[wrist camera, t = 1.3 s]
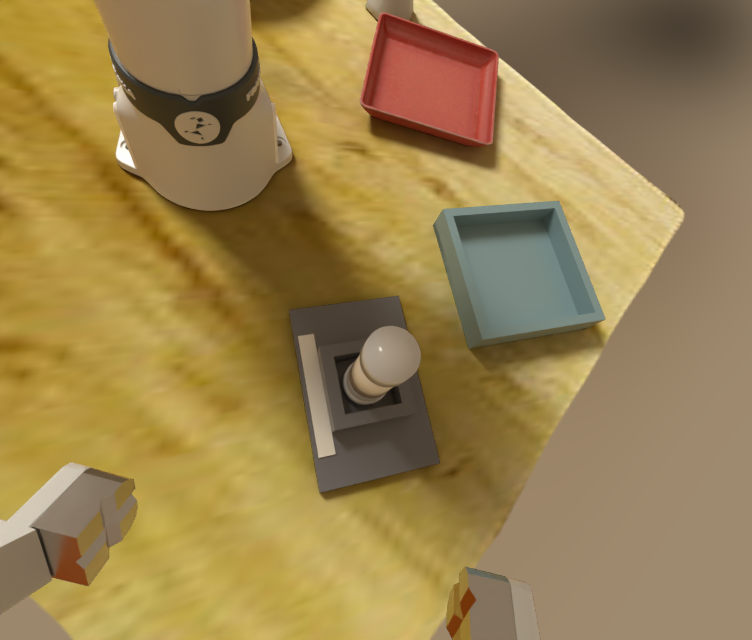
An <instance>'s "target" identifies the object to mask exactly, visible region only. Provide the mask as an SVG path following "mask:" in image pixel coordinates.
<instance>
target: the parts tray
mask: <svg viewBox="0 0 752 640" xmlns="http://www.w3.org/2000/svg"><path fill="white" fill-rule="evenodd" d="M433 227H434V230H435V234H436V237H437V241H438V244H439V248H440V251H441V255H442V258H443V261H444V265H445V268H446V272H447V275H448V279H449V282H450V286H451V289H452V293H453V296H454V299H455V303H456V306H457V310H458V313H459V317H460V320H461V324H462V327H463V330H464V334H465V337H466V341H467V344H468V348H469V349H471V348H477V347H483V346H488V345H494V344H500V343H506V342H512V341H518V340H523V339H529V338H535V337H541V336H547V335H553V334H559V333H564V332H570V331H576V330H582V329H586V328H589V327H591V326H593V325H595V324H597V323H599V322H601V321H603V320H605V316H604V314H603V311H602V309H601V306H600V304H599V301H598V299H597V296H596V294H595V291H594V288H593V286H592V283H591V281H590V278H589V276H588V273H587V271H586V268H585V266H584V263H583V261H582V258H581V255H580V253H579V250H578V248H577V245H576V243H575V240H574V238H573V235H572V233H571V230H570V228H569V225H568V223H567V220H566V217H565V215H564V212H563V210H562V207H561V205H560V202H559V201H549V202H535V203H522V204H508V205H494V206H480V207H466V208H452V209H443V210H442V212H441V213H440V215H439V217H438V218H437V220H436V221H435V223H434V225H433Z"/></svg>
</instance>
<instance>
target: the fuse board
mask: <svg viewBox="0 0 752 640" xmlns="http://www.w3.org/2000/svg"><path fill="white" fill-rule="evenodd" d="M289 315H290V321H291V327H292V333H293V339H294V345H295V351H296V357H297V363H298V369H299V375H300V381H301V387H302V393H303V399H304V405H305V411H306V417H307V423H308V429H309V435H310V441H311V447H312V453H313V459H314V465H315V471H316V477H317V483H318V489H319V493H321V492H325V491H329V490H333V489H337V488H341V487H345V486H349V485H354V484H358V483H362V482H366V481H370V480H374V479H378V478H382V477H386V476H390V475H394V474H398V473H402V472H406V471H410V470H414V469H418V468H423V467H427V466H431V465H435V464H439V463H440V460H439V456H438V452H437V448H436V444H435V440H434V436H433V432H432V428H431V424H430V420H429V416H428V412H427V408H426V404H425V400H424V396H423V392H422V388H421V384H420V380H419V376H418V372H417V371H416V372H415V374H414V375H413V376H411V377H410V378H409V379H407V380H406V381H405V382H403V383H402V384H400V385H398V386H395V387H393V388H391V389H390V390H389V391H388V392H387V393H386V394H385V395H384V397H383V398H381V399H380V400H379V401H378V402H376V403H375V404H373V405H371V406H366V407H361V406H356V405H354V404H352V403H351V402H350V401H348V400H347V398H346V397H345V395H344V394H343V391H342V378H343V375H344V374H345V372H346V370H347V369H348V367H349V366H350V365H351V364H352V363H354V362H355V360H356V359H357V358H358V357H359V355H360V352H361V349H362V347H363V345H364V344H365V342H366V341H367V339H368V338H369V336H370V335H371V334H372V333H373V332H374V331H375V330H377V329H379V328H381V327H385V326H397V327H400V328H403V329H405V330H406V331H407V328H406V324H405V320H404V316H403V312H402V308H401V304H400V300H399V296H394V297H386V298H378V299H370V300H362V301H355V302H347V303H339V304H331V305H323V306H315V307H308V308H300V309H292V310H289Z"/></svg>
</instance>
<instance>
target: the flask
mask: <svg viewBox="0 0 752 640" xmlns="http://www.w3.org/2000/svg"><path fill="white" fill-rule="evenodd" d="M365 7H366V8H367V9H368V10H369V11H370V12H371V14H372V15H373V16H374V17H375V18H376V19H377V20H378V19H379V15H380V13H383V12H384V13H389V14H391V15H394V16H397V17H400V18H403V19H406V20H409V21H410V19H411V16H412V12H413V0H367V3H366V5H365Z"/></svg>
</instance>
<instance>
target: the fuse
mask: <svg viewBox="0 0 752 640" xmlns="http://www.w3.org/2000/svg"><path fill="white" fill-rule="evenodd" d="M420 361H421V352H420V347H419V345H418V343H417V341H416V339H415V338H414V337H413V336H412V335H411V334H410V333H409V332H408V331H406V330H405V329H403V328H400V327H397V326H385V327H381V328H379V329H377V330H375V331H374V332H373V333H372V334H371V335H370V336H369V338H368V339H367V341H366V342H365V344H364V345H363V347H362V349H361V352H360V355H359V357H358V358H357V359H356V360H355V362H354V363H352V364H351V365H350V366H349V367H348V369H347V370H346V372H345V374H344V375H343V378H342V391H343V394H344V395H345V397H346V398H347V400H348V401H350V402H351V403H352V404H354V405H356V406H361V407H366V406H371V405H373V404H375V403H376V402H378V401H379V400H380V399H381V398H383V397H384V395H385V394H386V393H387V392H388V391H389V390H390V389H391V388H393V387H395V386H398V385H400V384H402V383H403V382H405V381H406V380H407V379H409V378H410V377H411V376H413V375H414V374H415V372H416V371H417V369H418V367H419V365H420Z"/></svg>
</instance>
